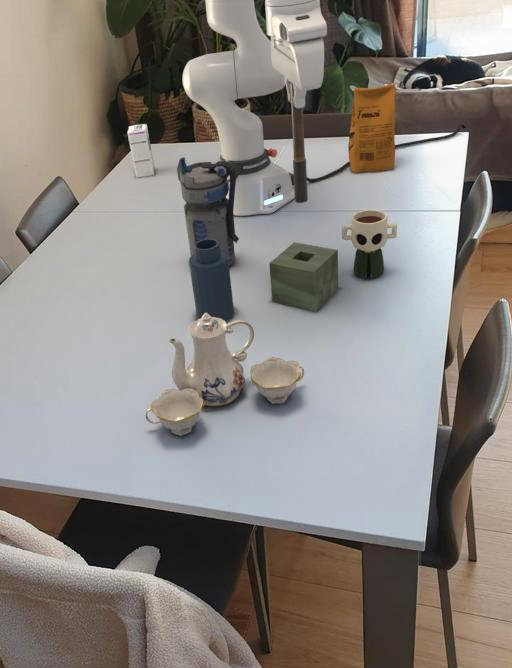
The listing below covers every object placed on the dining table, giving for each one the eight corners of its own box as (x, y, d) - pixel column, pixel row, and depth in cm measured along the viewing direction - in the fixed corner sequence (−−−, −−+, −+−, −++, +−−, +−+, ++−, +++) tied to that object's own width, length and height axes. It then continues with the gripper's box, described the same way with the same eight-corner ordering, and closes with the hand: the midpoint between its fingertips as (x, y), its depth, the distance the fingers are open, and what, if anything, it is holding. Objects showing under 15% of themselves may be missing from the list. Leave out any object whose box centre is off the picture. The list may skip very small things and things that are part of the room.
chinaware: (167, 464, 114) (155, 387, 104) (129, 402, 126) (115, 328, 116) (317, 403, 121) (320, 326, 111) (267, 350, 133) (266, 275, 123)
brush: (292, 200, 137) (286, 82, 125) (303, 197, 138) (298, 79, 125) (299, 204, 135) (293, 84, 123) (310, 200, 136) (305, 81, 123)
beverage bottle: (235, 276, 159) (224, 168, 145) (182, 271, 165) (166, 167, 151) (251, 255, 166) (242, 150, 152) (199, 251, 172) (186, 150, 158)
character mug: (341, 281, 150) (341, 225, 143) (342, 265, 156) (342, 210, 149) (395, 280, 148) (398, 222, 140) (394, 264, 153) (396, 207, 146)
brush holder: (296, 279, 154) (294, 241, 149) (338, 288, 148) (337, 249, 143) (272, 301, 148) (269, 263, 143) (315, 311, 142) (314, 272, 137)
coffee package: (348, 162, 205) (347, 83, 193) (393, 158, 203) (395, 78, 190) (349, 174, 198) (348, 93, 185) (395, 171, 195) (398, 88, 182)
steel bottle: (217, 301, 151) (208, 232, 142) (241, 313, 146) (234, 242, 137) (189, 315, 148) (179, 246, 139) (213, 328, 143) (203, 256, 134)
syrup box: (154, 175, 220) (146, 128, 212) (135, 178, 220) (127, 131, 212) (155, 169, 225) (147, 122, 216) (136, 171, 225) (128, 125, 217)
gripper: (259, 14, 127) (265, 93, 135) (290, 33, 110) (294, 123, 118) (294, 7, 127) (297, 87, 135) (330, 26, 110) (332, 116, 118)
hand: (296, 104), depth 126 cm, fingers closed on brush, 2 cm apart
